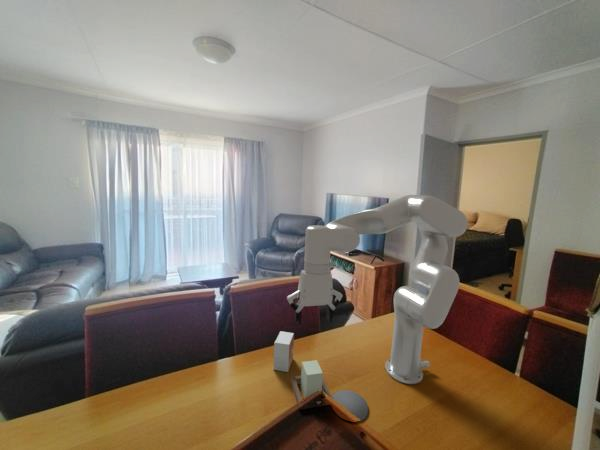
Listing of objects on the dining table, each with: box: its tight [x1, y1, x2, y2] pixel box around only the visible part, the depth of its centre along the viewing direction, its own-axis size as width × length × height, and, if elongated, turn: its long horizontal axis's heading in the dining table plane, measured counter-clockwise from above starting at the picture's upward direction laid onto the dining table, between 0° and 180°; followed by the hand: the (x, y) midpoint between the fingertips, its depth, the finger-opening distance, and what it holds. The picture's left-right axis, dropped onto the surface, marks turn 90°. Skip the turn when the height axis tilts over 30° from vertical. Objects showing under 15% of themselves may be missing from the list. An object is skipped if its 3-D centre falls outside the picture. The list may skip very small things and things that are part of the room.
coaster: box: [331, 389, 369, 421], centre depth 77 cm, size 11×11×1 cm
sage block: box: [300, 359, 324, 398], centre depth 80 cm, size 5×6×9 cm
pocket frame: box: [290, 374, 333, 405], centre depth 81 cm, size 10×11×2 cm
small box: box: [272, 330, 295, 373], centre depth 93 cm, size 8×6×10 cm
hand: (313, 321), depth 78 cm, fingers open, 9 cm apart
